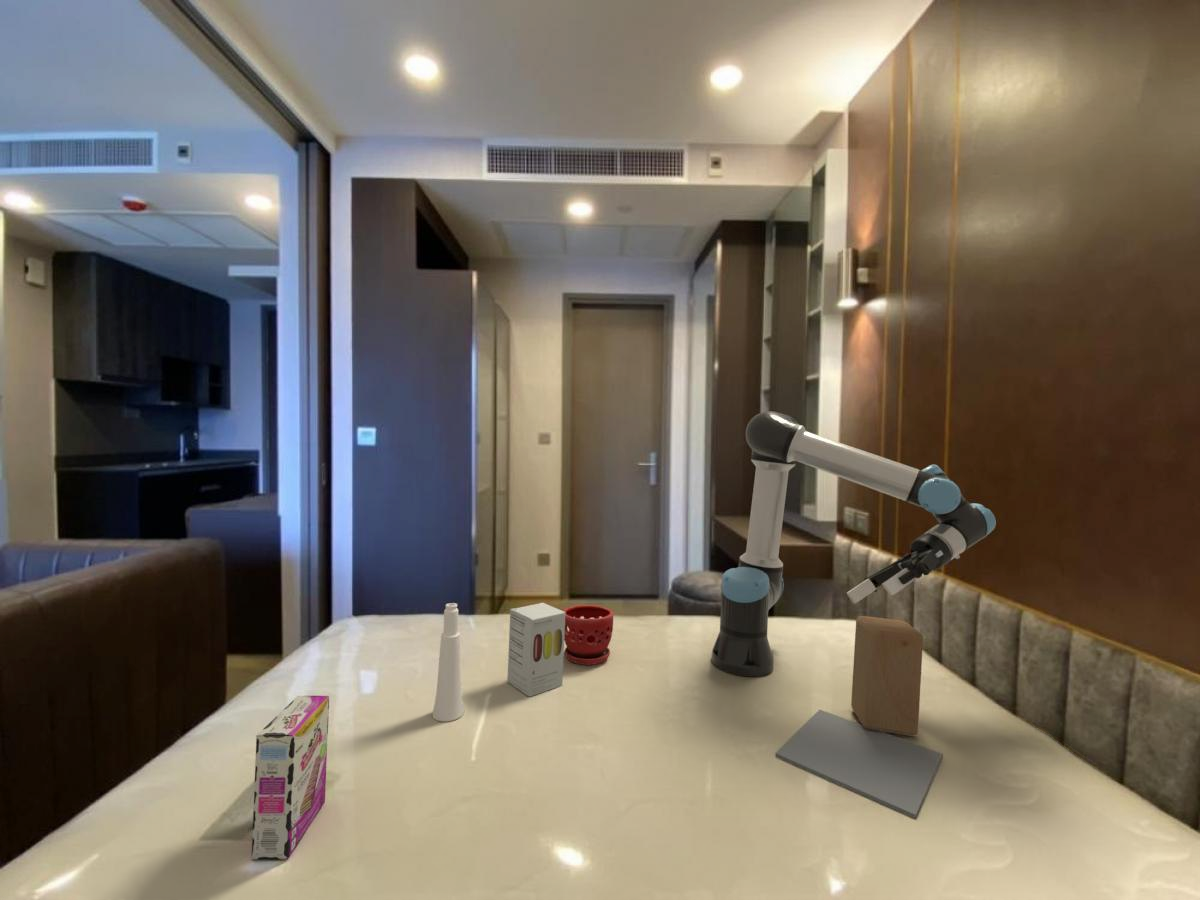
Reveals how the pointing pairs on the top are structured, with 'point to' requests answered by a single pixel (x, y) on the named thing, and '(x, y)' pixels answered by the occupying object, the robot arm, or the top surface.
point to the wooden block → (887, 675)
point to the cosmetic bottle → (449, 670)
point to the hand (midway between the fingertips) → (867, 594)
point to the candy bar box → (289, 777)
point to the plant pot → (588, 634)
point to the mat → (864, 761)
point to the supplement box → (536, 648)
